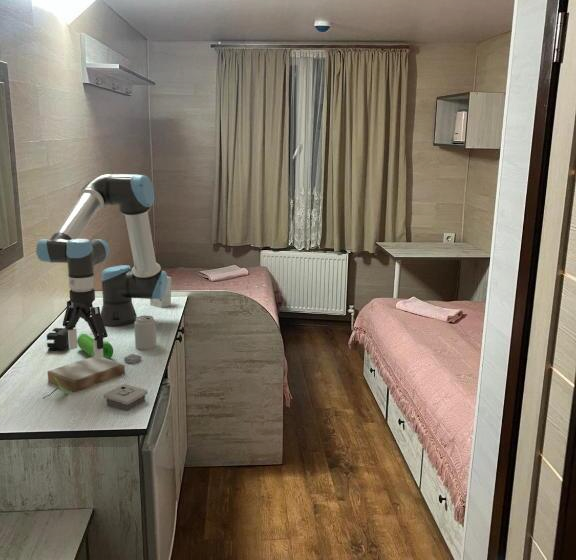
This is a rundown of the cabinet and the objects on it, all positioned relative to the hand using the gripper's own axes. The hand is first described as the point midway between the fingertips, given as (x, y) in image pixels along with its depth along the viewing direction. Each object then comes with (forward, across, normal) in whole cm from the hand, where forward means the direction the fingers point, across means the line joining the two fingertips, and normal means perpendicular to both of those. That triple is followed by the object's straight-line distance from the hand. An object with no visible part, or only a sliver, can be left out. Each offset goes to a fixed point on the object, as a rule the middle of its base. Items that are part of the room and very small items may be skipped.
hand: (85, 353), depth 199 cm
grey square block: (+9, 0, +18) cm, 20 cm away
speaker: (+9, -16, +14) cm, 23 cm away
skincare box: (+9, -46, +72) cm, 86 cm away
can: (+9, -8, +31) cm, 33 cm away
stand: (+8, 0, 0) cm, 9 cm away
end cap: (+9, -33, +12) cm, 36 cm away
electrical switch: (+9, +22, -6) cm, 24 cm away
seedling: (+9, +4, -18) cm, 20 cm away
